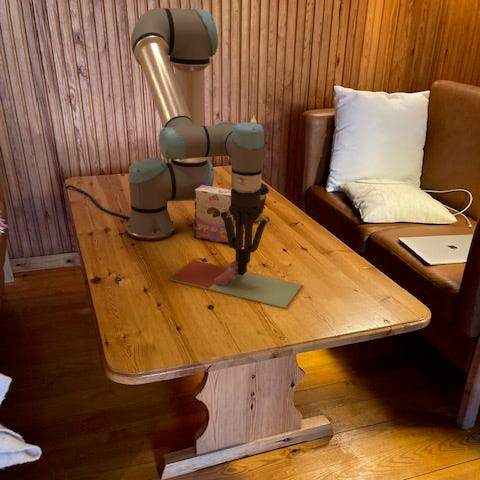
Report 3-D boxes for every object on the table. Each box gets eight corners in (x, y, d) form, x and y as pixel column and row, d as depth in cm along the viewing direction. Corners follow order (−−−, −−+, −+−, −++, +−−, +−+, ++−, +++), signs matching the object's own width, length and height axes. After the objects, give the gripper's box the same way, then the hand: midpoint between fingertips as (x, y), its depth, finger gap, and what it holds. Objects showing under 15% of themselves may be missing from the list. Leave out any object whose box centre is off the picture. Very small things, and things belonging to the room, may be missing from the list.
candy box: (239, 239, 174) (242, 190, 166) (233, 245, 170) (235, 196, 161) (201, 231, 178) (201, 183, 169) (194, 237, 174) (194, 189, 165)
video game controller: (225, 292, 145) (236, 274, 141) (211, 283, 146) (222, 264, 141) (239, 278, 153) (250, 260, 149) (226, 268, 153) (237, 251, 149)
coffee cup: (231, 221, 188) (232, 188, 182) (243, 211, 197) (244, 179, 190) (260, 226, 185) (262, 193, 178) (271, 216, 193) (273, 184, 187)
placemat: (170, 280, 148) (170, 278, 148) (193, 261, 159) (193, 259, 159) (285, 308, 137) (285, 307, 137) (301, 286, 148) (301, 284, 148)
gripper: (216, 188, 132) (215, 273, 145) (264, 197, 128) (259, 283, 141) (228, 180, 138) (226, 262, 151) (275, 188, 134) (269, 272, 147)
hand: (242, 272), depth 146 cm, fingers closed
